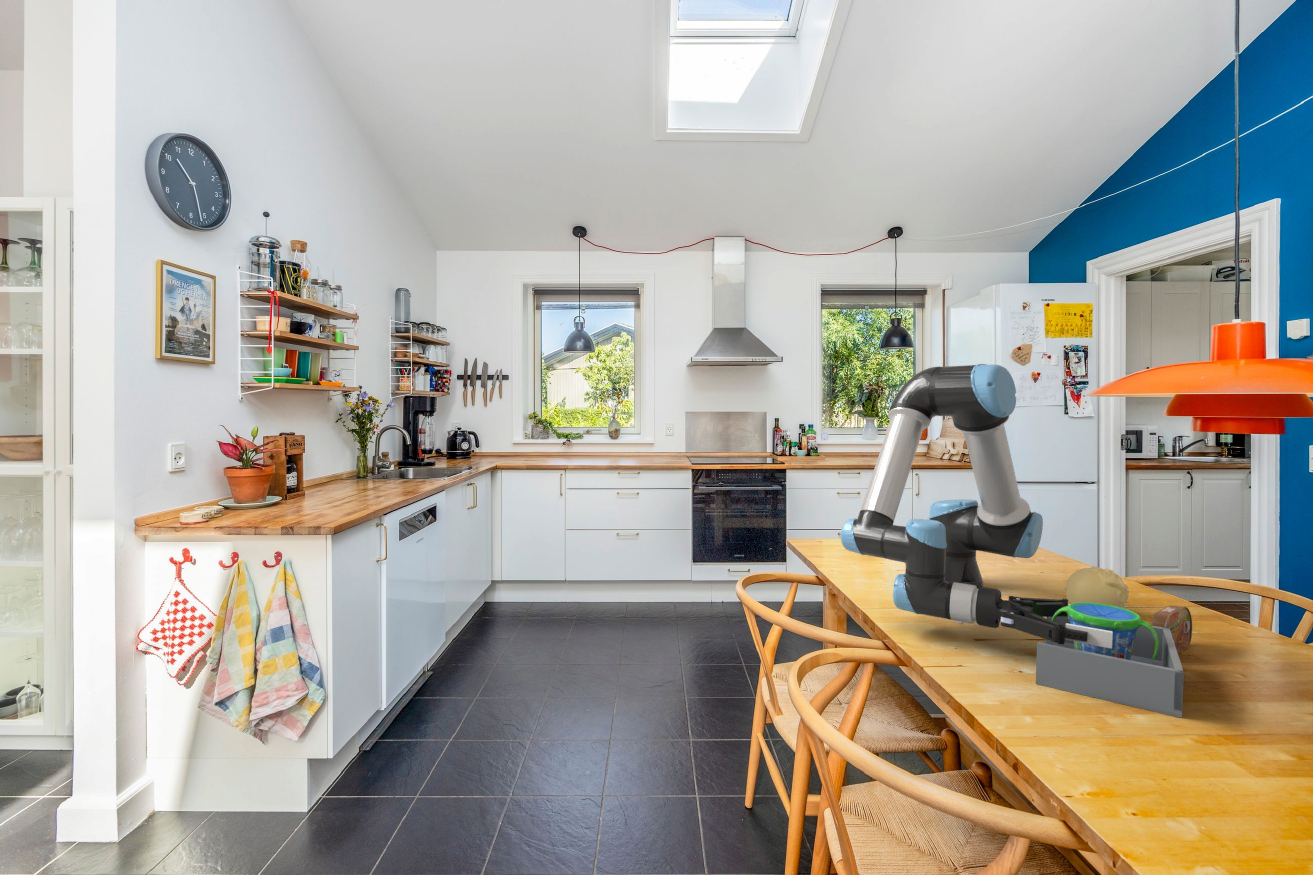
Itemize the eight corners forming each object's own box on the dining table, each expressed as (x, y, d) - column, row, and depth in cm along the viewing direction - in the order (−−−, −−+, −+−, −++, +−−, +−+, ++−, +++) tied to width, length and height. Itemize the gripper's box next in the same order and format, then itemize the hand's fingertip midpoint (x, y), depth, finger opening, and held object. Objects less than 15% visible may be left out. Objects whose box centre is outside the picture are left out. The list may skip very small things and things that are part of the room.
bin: (1046, 642, 123) (1047, 608, 122) (1168, 665, 111) (1169, 628, 111) (1035, 683, 103) (1037, 643, 103) (1181, 717, 92) (1183, 672, 92)
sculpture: (1134, 623, 134) (1136, 576, 134) (1069, 615, 139) (1071, 569, 139) (1120, 609, 144) (1122, 564, 144) (1061, 601, 150) (1062, 558, 149)
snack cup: (1041, 660, 111) (1044, 605, 110) (1060, 646, 118) (1062, 594, 117) (1149, 690, 99) (1152, 629, 99) (1163, 672, 106) (1165, 615, 105)
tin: (1166, 662, 113) (1168, 618, 113) (1145, 656, 116) (1147, 613, 116) (1193, 645, 122) (1195, 604, 121) (1173, 640, 124) (1175, 600, 124)
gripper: (985, 607, 129) (1109, 629, 117) (965, 642, 109) (1112, 673, 97) (986, 573, 129) (1110, 591, 116) (966, 601, 109) (1114, 627, 96)
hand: (1111, 628), depth 107 cm, fingers open, 13 cm apart
